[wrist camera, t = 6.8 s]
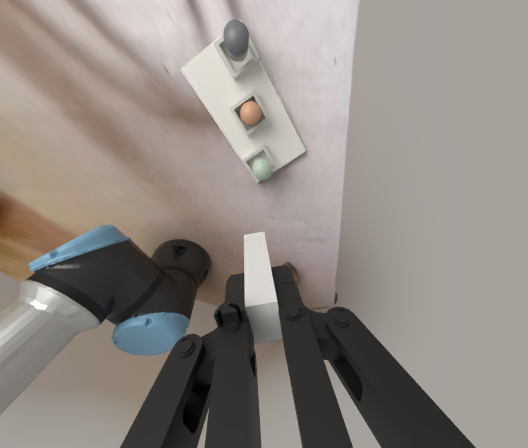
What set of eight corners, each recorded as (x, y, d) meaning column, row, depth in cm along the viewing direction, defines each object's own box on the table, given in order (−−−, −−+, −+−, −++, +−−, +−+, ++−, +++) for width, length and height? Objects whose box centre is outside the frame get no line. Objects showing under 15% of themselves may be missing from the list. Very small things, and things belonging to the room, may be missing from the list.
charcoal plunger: (234, 66, 34) (233, 58, 30) (221, 43, 33) (218, 31, 28) (252, 52, 34) (253, 42, 29) (239, 28, 32) (239, 13, 28)
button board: (256, 181, 48) (257, 185, 45) (182, 70, 37) (177, 66, 35) (304, 150, 46) (308, 152, 43) (240, 22, 35) (239, 13, 32)
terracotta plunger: (247, 128, 41) (248, 128, 37) (236, 111, 40) (236, 109, 35) (262, 117, 41) (264, 116, 36) (252, 99, 39) (253, 96, 35)
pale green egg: (258, 177, 43) (259, 184, 39) (248, 163, 42) (249, 168, 37) (272, 168, 43) (275, 173, 38) (263, 153, 41) (265, 156, 37)
